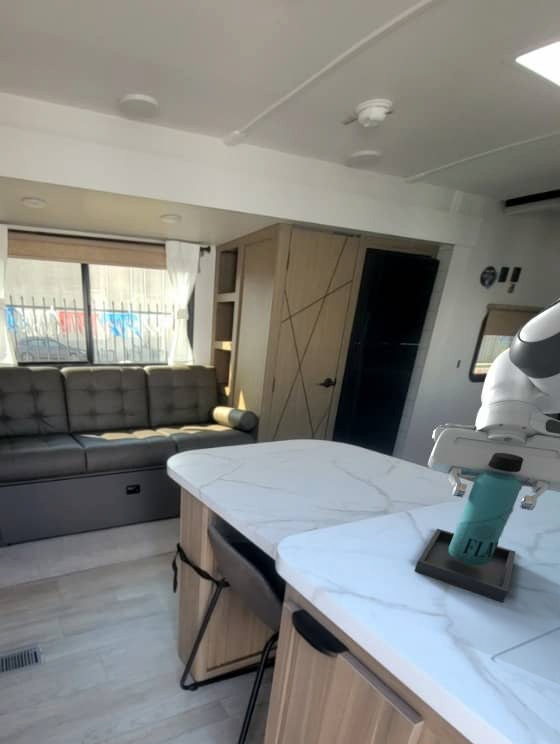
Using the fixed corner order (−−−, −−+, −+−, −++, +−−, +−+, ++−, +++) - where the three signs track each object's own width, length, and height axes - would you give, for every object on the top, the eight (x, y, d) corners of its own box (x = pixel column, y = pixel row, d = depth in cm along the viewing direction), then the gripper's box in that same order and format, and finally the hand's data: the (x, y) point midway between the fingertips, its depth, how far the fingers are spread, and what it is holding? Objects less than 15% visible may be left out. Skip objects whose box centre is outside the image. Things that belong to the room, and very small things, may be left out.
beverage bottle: (451, 570, 70) (495, 459, 61) (438, 550, 76) (477, 447, 67) (494, 576, 68) (545, 463, 60) (477, 556, 74) (522, 451, 66)
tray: (434, 537, 82) (437, 528, 81) (511, 561, 74) (515, 551, 74) (414, 571, 70) (417, 560, 69) (502, 602, 63) (508, 591, 62)
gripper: (440, 411, 72) (424, 479, 68) (591, 429, 63) (582, 508, 59) (432, 431, 77) (416, 495, 74) (570, 450, 68) (560, 523, 65)
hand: (491, 501), depth 66 cm, fingers open, 8 cm apart
